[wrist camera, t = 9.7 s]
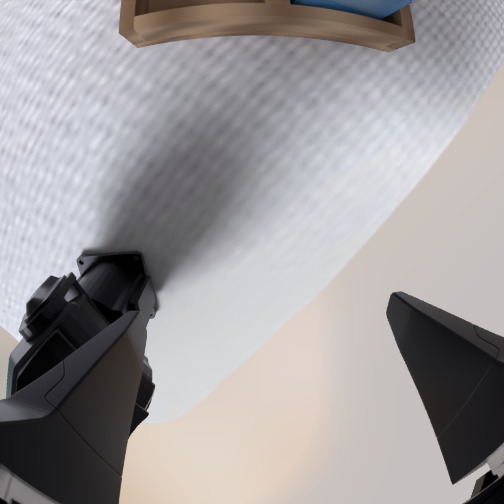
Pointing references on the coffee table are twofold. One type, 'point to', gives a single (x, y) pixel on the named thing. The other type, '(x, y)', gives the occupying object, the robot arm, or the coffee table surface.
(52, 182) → the coffee table surface
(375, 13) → the perfume bottle
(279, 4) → the wooden divided tray
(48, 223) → the coffee table surface
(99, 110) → the coffee table surface
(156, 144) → the coffee table surface
